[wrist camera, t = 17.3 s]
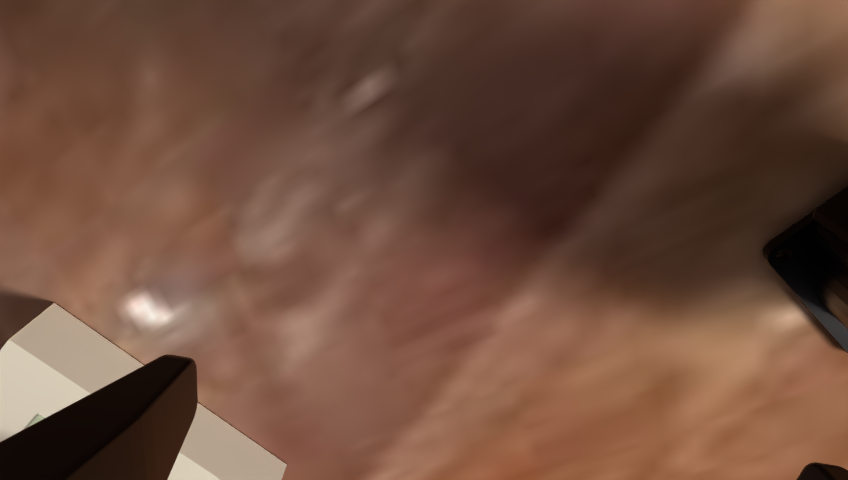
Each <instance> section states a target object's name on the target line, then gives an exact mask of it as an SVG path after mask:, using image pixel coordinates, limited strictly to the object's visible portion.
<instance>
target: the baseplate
mask: <svg viewBox="0 0 848 480" xmlns="http://www.w3.org/2000/svg"><path fill="white" fill-rule="evenodd" d="M142 366H144V365H143V364H142V363H140V362H139V361H137V360H136V359H134V358H133V357H131V356H130V355H129V354H127V353H126V352H124V351H123V350H121V349H120V348H119V347H117V346H116V345H114V344H113V343H111V342H110V341H108V340H107V339H106V338H104V337H103V336H101V335H100V334H98V333H97V332H96V331H94V330H93V329H91V328H90V327H88V326H87V325H85V324H84V323H83V322H81V321H80V320H78V319H77V318H75V317H74V316H73V315H71V314H70V313H68V312H67V311H65V310H64V309H62V308H61V307H60V306H58V305H57V304H55V303H53V304H52V305H51V306H50V307H48V308H47V309H46V310H45V311H43V312H42V313H41V314H40V315H38V316H37V317H36V318H35V319H33V320H32V321H31V322H30V323H28V324H27V325H26V326H25V327H23V328H22V329H21V330H20V331H18V332H17V333H16V334H15V335H13V336H12V337H11V338H10V339H9V340H8V341H7V342H6V344H5V345H4V346H3V347H2V349H1V350H0V442H1V441H3V440H5V439H7V438H9V437H11V436H12V435H14V434H16V433H18V432H20V431H22V430H24V429H26V428H27V427H29V426H31V425H33V424H35V423H37V422H39V421H41V420H42V419H44V418H46V417H48V416H50V415H52V414H54V413H56V412H58V411H59V410H61V409H63V408H65V407H67V406H69V405H71V404H73V403H74V402H76V401H78V400H80V399H82V398H84V397H86V396H88V395H89V394H91V393H93V392H95V391H97V390H99V389H101V388H103V387H105V386H106V385H108V384H110V383H112V382H114V381H116V380H118V379H120V378H121V377H123V376H125V375H127V374H129V373H131V372H133V371H135V370H136V369H138V368H140V367H142ZM286 466H287V464H285V463H284V462H282V461H281V460H280V459H278V458H277V457H275V456H274V455H272V454H271V453H270V452H268V451H267V450H265V449H264V448H262V447H261V446H259V445H258V444H257V443H255V442H254V441H252V440H251V439H249V438H248V437H247V436H245V435H244V434H242V433H241V432H239V431H238V430H236V429H235V428H234V427H232V426H231V425H229V424H228V423H226V422H225V421H224V420H222V419H221V418H219V417H218V416H216V415H215V414H213V413H212V412H211V411H209V410H208V409H206V408H205V407H203V406H202V405H201V404H199V403H198V402H197V409H196V413H195V417H194V419H193V422H192V424H191V426H190V429H189V431H188V433H187V436H186V438H185V440H184V443H183V445H182V447H181V449H180V452H179V454H178V456H177V459H176V461H175V463H174V466H173V468H172V470H171V473H170V475H169V477H168V479H167V480H281V479H282V477H283V474H284V471H285V468H286Z"/></svg>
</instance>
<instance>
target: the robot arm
mask: <svg viewBox="0 0 848 480" xmlns="http://www.w3.org/2000/svg"><path fill="white" fill-rule="evenodd" d="M783 249H786V250H785V253H784V254H783V255H782V256H780V257H776V254H777V253H778V252H779V251H781V250H783ZM762 256H763V258H764V260H765V261H766V262H767V263H768V264H769V265H770V266H771V268H772V269H773V270H774V271H775V272H776V273H777V274H778V275H779V277H780V278H781V279H782V280H783V281H784V282H785V283H786V284H787V286H788V287H789V288H790V289H791V290H792V291H793V292H794V294H795V295H796V296H797V297H798V298H799V299H800V300H801V301H802V303H803V304H804V305H805V306H806V307H807V308H808V309H809V310H810V312H811V313H812V314H813V315H814V316H815V317H816V318H817V319H818V321H819V322H820V323H821V324H822V325H823V326H824V327H825V328H826V330H827V331H828V332H829V333H830V334H831V335H832V336H833V338H834V339H835V340H836V341H837V342H838V343H839V344H840V345H841V347H842V348H843V349H844V350H845V351H846V352H847V353H848V187H846V188H845V189H843V190H842V191H841V192H839V193H838V194H836V195H835V196H833V197H832V198H830V199H829V200H828V201H826V202H825V203H823V204H822V205H820V206H819V207H817V208H816V210H814V211H813V212H811V213H810V214H808V215H807V216H806V217H804V218H803V219H801V220H800V221H798V222H797V223H795V224H794V225H793V226H791V227H790V228H788V229H787V230H785V231H784V232H782V233H781V234H780V235H778V236H777V237H775V238H774V239H772V240H771V241H769V242H768V243H767V244H766V245H765V247H764V249H763V254H762ZM197 402H198V399H197V368H196V363H195V361H194V360H193V359H191V358H188V357H182V356H176V355H164V356H161V357H159V358H157V359H155V360H153V361H152V362H150V363H148V364H146V365H144V366H142V367H140V368H138V369H136V370H135V371H133V372H131V373H129V374H127V375H125V376H123V377H121V378H120V379H118V380H116V381H114V382H112V383H110V384H108V385H106V386H105V387H103V388H101V389H99V390H97V391H95V392H93V393H91V394H89V395H88V396H86V397H84V398H82V399H80V400H78V401H76V402H74V403H73V404H71V405H69V406H67V407H65V408H63V409H61V410H59V411H58V412H56V413H54V414H52V415H50V416H48V417H46V418H44V419H42V420H41V421H39V422H37V423H35V424H33V425H31V426H29V427H27V428H26V429H24V430H22V431H20V432H18V433H16V434H14V435H12V436H11V437H9V438H7V439H5V440H3V441H1V442H0V480H167V479H168V477H169V475H170V473H171V470H172V468H173V466H174V463H175V461H176V459H177V456H178V454H179V452H180V449H181V447H182V445H183V443H184V440H185V438H186V436H187V433H188V431H189V429H190V426H191V424H192V422H193V419H194V417H195V413H196V409H197ZM797 480H848V471H847V470H846V469H844V468H842V467H839V466H835V465H829V464H823V463H816V462H814V463H810V464H808V465H806V466H805V467H804V469H803V470H802V472H801V473H800V475H799V477H798V478H797Z"/></svg>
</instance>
